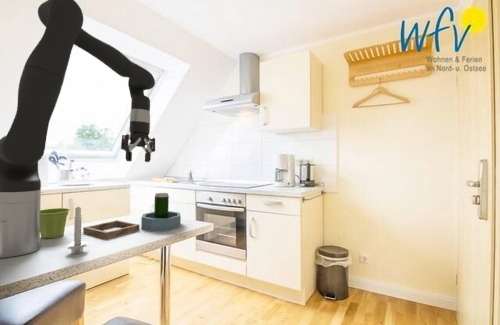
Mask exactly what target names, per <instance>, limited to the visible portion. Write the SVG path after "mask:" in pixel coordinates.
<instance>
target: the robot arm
mask: <svg viewBox="0 0 500 325" xmlns="http://www.w3.org/2000/svg"><path fill="white" fill-rule="evenodd" d="M37 15H38V16H37V17H38V18H39V20H40V22H41V23H42V25H43V26H44V27H45V29H44V33H43V35H42V37H41V38H40V40H39V42H38V43H37V44H36V46H35V47H34V48H33V49H32V51H31V52H30V54H29V56H28V58H27V59H26V62H25V64H24V66H23V69H22V73H21V76H20V78H19V83H18V90H17V107H16V112H15V114H14V118H13V121H12V124H11V125H10V128H9V130H8V132H7V134H5V136H2V137H1V138H0V259H4V258H10V257H11V258H12V257H17V256H24V255H28V254H31V253H34V252H36V251H38V250H39V249H40V247H41V246H40V244H41V235H40V210H41V199H42V198H41V190H42V181H41V178H40V175H39V161H40V160H41V159H42V158H43V156H44V153H45V149H46V144H47V137H48V130H49V126H50V121H51V118H52V115H53V113H54V110H55V108H56V106H57V103H58V100H59V97H60V95H61V90H62V87H63V85H64V81H65V77H66V73H67V68H68V65H69V62H70V58H71V55H72V51H73V48H74V45H75V46H76V47H78V48H79V49H81V50H83V51H85V52H86V53H87V54H89V55H91V56H92V57H94V58H95V59H97V60H98V61H99V62H101V63H102V64H104V65H106V67H108V68H109V69H111V70H112V71H113V72H114V73H116V74H117V75H118V76H120V77H123V78H128V81H127V84H128V85H127V86H128V89H129V94H130V99H131V101H130V102H131V103H130V106H131V107H130V113H129V114H130V116H129V133H130V134H128V133H124V134H122V135H121V142H120V144H121V145H120V149H121V150H123V151H124V152H125V160H126V162H132V161H133V150H134V149H135V148H136V147H139V148H142V149H143V150H144V152H145V154H144V162H145V163H150V162H151V159H152V158H151V156H152V153H154V152H156V138H155V137H149V135H150V132H151V131H150V130H151V114H150V113H151V99H150V98H149V96H147V95H145V91H149V90H151V89H153V88H154V87H155V85H156V80H155V77H154V76H153V74H152V73H151V72H150V71H149V70H147V69H146V68H144V67H142V66H140V65H139V64H137V63H135V62H134V61H131V60H130V59H129V58H128V56H126V55H125V54H123V53H122V52H121V51H120V50H118V49H117V48H115V47H114V46H112V45H111V44H109V43H107V42H105V41H102V40H100V39H98V38H97V37H95V36H94V35H92V34H90V33H88V32H87V31H86V30H84V28H83V25H84V13H83V11H82V8H81V7H80V5H79V4H78V3H77V2H76V0H45V1H44V2H42V3H41V4H40V5H39V6H38V8H37Z"/></svg>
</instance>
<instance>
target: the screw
mask: <svg viewBox="0 0 500 325" xmlns="http://www.w3.org/2000/svg"><path fill="white" fill-rule="evenodd" d="M74 209H75V210H74V211H75V214H74V217H73V218H74V219H73V220H74V223H73V224H74V225H73V228H74V232H73V233H74V234H73V242H71V243H69V244H68V245H67V246H66V248H67V249H70V251H71V254H73V255H76V254H77V255H78V254H81V253H84V248H86V247H88V245H89V244H88V243H87V242H86V241H82V233H83V231H82V230H83V228H82V220H83V219H82V216H83V215H82V208H81V207H80V206H76V207H75V208H74Z"/></svg>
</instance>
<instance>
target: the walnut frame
mask: <svg viewBox="0 0 500 325" xmlns="http://www.w3.org/2000/svg"><path fill="white" fill-rule="evenodd" d="M114 227H119V228H117V229H114V230H109V231H107V230H106V231H105V229H110V228H114ZM82 230H83V231H82V233H83V234H86V235H90V236H93V237H97V238H101V239H105V240H108V239H113V238H115V237H119V236H123V235H126V234H130V233H133V232H136V231H137V232H138V231H140V224H137V223H133V222H129V221H128V222H127V221H123V220H111V221H106V222H101V223H97V224H93V225H89V226H84V227H83V228H82Z"/></svg>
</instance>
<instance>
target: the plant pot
mask: <svg viewBox="0 0 500 325" xmlns="http://www.w3.org/2000/svg"><path fill="white" fill-rule="evenodd" d="M70 210H71V209H70V208H67V207H66V208H65V207H63V208H62V207H58V208H57V207H54V208H46V209H40V239H43V240H44V239H55V238H60V237H62V236H63V235H64V234H65V228H66V223H67V218H68V215H69V212H70Z"/></svg>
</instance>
